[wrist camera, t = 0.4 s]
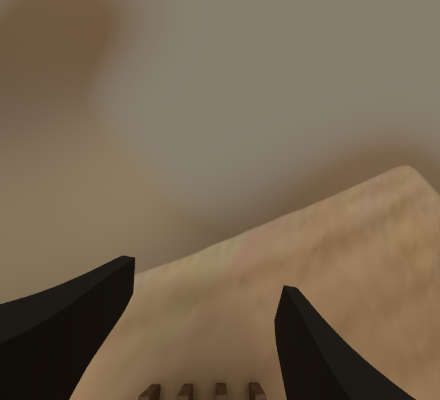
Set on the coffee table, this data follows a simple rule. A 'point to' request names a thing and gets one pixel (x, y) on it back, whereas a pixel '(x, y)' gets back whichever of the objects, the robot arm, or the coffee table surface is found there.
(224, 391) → the domino
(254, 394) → the domino
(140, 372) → the coffee table surface
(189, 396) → the domino
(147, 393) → the domino
